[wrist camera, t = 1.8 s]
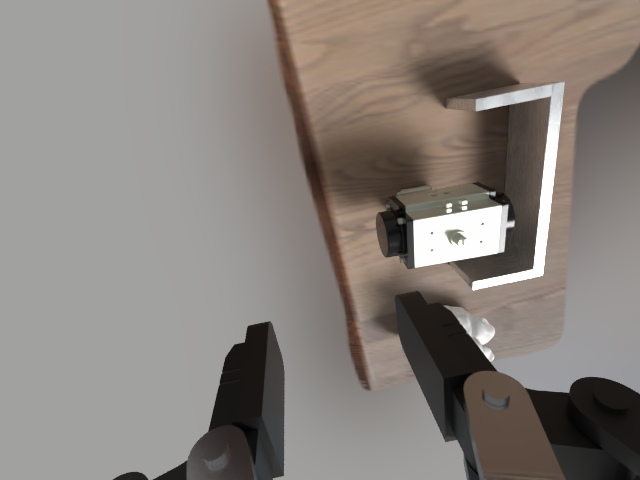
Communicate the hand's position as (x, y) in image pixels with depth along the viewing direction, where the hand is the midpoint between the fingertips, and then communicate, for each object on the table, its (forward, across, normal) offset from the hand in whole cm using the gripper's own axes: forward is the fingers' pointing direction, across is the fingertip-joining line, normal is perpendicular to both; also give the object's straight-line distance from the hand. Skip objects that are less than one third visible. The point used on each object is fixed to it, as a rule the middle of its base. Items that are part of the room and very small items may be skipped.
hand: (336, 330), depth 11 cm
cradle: (+27, -20, +6) cm, 34 cm away
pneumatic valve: (+28, -12, +6) cm, 31 cm away
